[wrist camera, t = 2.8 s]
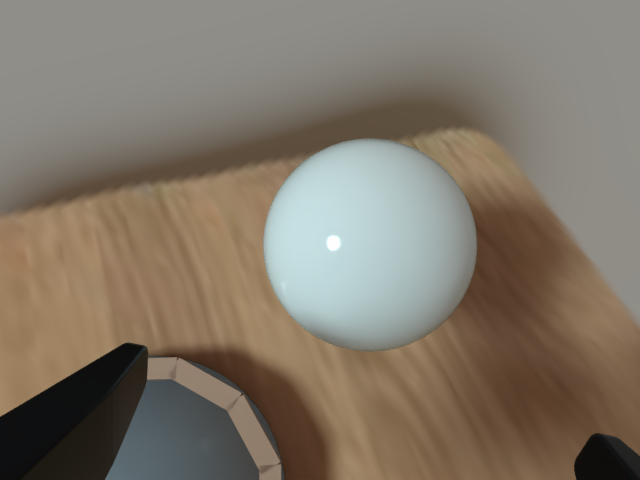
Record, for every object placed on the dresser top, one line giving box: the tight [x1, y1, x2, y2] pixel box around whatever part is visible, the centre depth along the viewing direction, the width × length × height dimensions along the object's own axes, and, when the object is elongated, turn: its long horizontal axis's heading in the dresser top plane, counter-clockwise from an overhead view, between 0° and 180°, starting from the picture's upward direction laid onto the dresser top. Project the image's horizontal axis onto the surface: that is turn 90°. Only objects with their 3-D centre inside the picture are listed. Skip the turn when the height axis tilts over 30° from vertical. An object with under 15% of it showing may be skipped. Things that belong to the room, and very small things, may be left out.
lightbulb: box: [263, 139, 477, 352], centre depth 16 cm, size 6×6×11 cm
